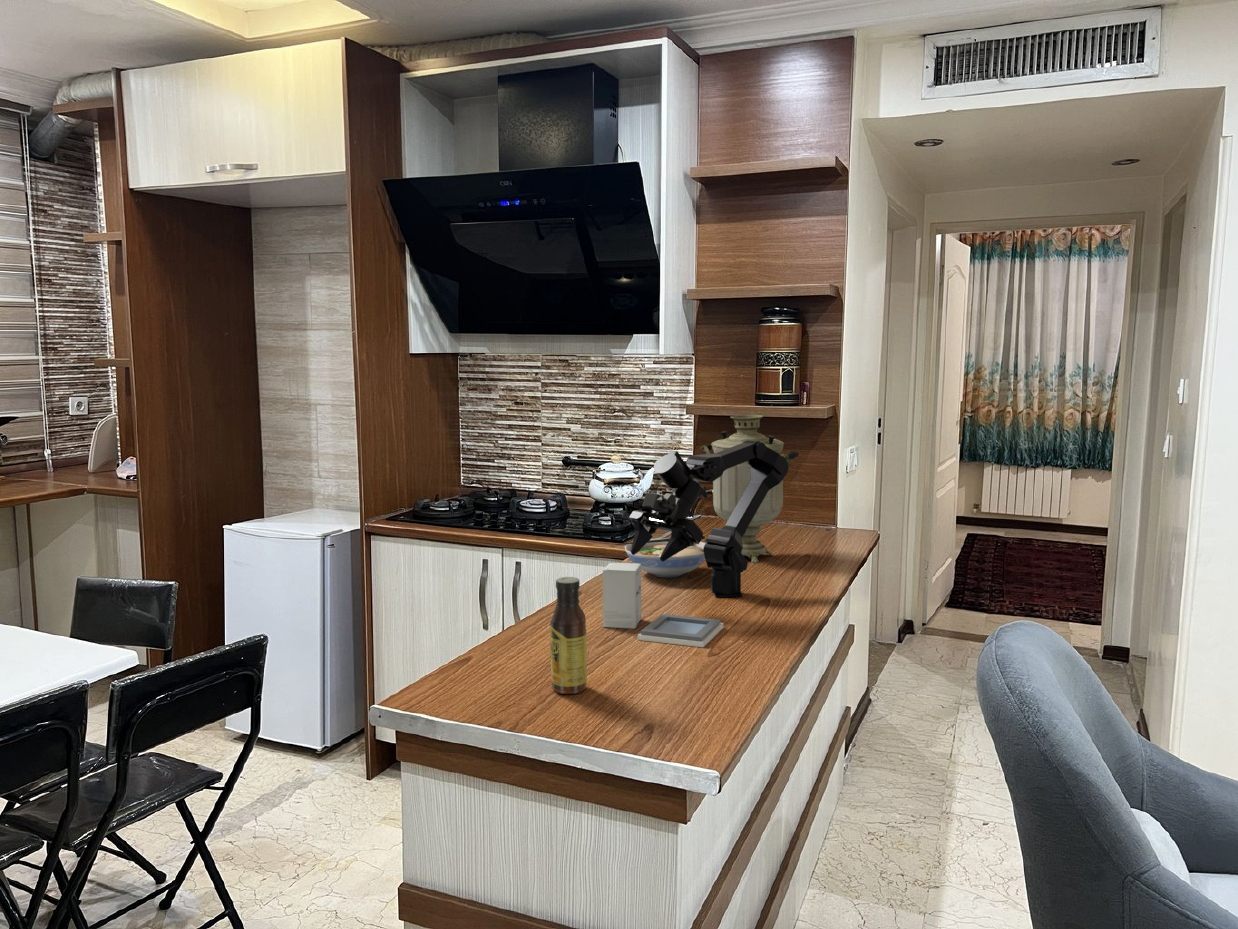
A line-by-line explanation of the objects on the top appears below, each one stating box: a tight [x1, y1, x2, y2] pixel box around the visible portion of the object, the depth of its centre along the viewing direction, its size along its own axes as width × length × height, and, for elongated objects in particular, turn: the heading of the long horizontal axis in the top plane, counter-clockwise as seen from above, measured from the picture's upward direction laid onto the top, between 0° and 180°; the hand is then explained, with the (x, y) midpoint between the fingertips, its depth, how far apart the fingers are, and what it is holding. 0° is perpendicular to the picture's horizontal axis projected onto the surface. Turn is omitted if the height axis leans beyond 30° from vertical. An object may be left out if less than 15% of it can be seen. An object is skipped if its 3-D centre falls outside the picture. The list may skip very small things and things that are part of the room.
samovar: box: [699, 414, 800, 564], centre depth 261 cm, size 30×26×40 cm
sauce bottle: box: [549, 576, 588, 695], centre depth 161 cm, size 7×6×20 cm
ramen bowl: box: [614, 535, 706, 579], centre depth 243 cm, size 25×23×8 cm
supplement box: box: [602, 562, 642, 630], centre depth 200 cm, size 7×7×13 cm
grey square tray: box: [637, 613, 724, 648], centre depth 193 cm, size 14×14×2 cm
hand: (646, 557), depth 204 cm, fingers open, 9 cm apart
